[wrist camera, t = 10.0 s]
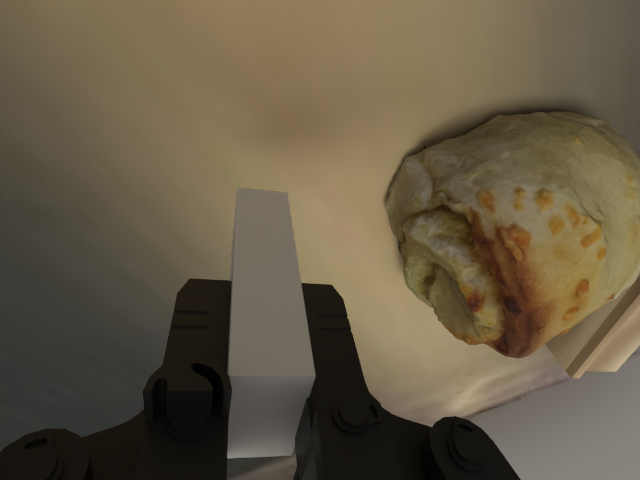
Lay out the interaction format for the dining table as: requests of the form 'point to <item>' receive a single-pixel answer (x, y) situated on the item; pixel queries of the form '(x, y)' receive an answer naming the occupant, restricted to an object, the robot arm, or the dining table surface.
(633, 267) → the pastry
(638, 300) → the wooden block
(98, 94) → the dining table surface
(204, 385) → the robot arm
